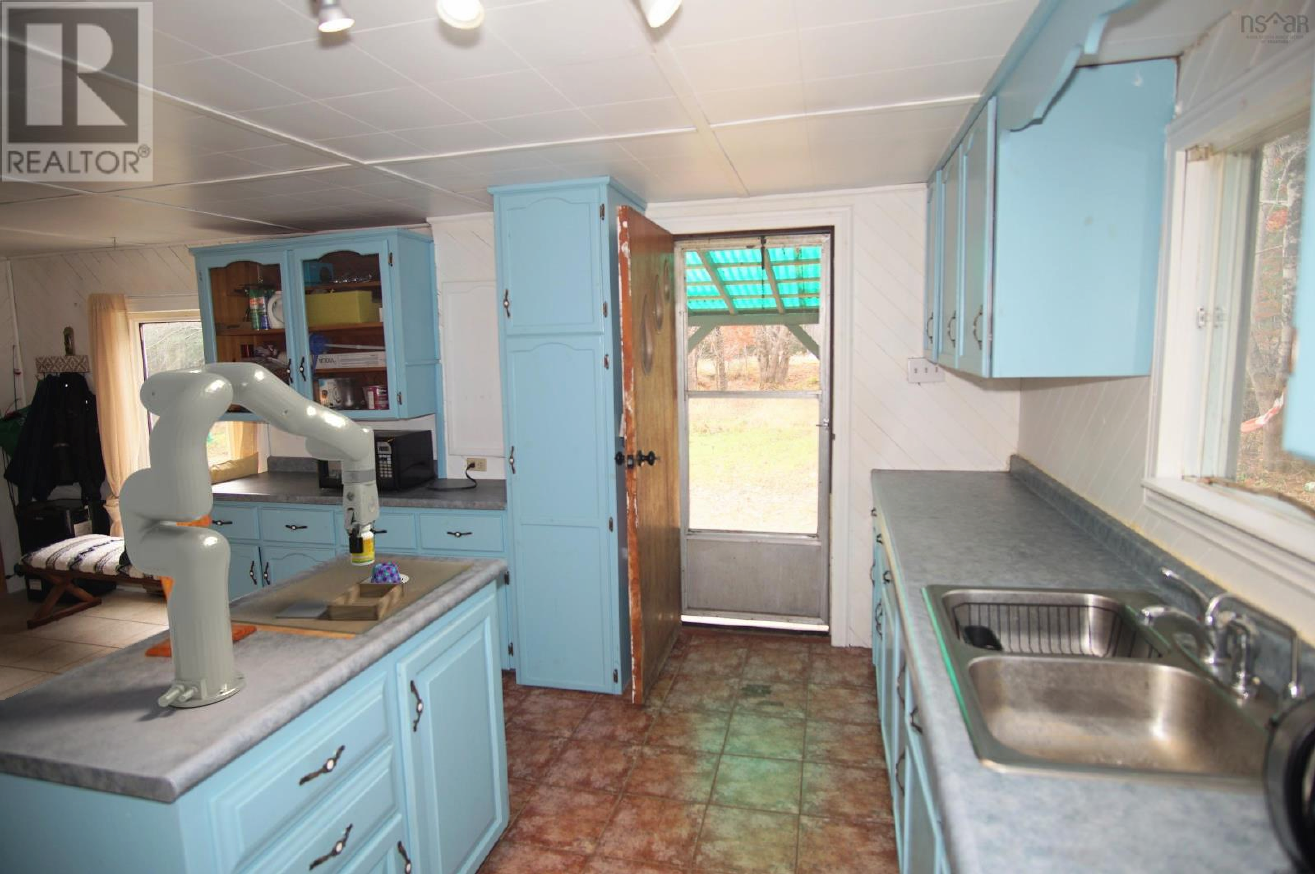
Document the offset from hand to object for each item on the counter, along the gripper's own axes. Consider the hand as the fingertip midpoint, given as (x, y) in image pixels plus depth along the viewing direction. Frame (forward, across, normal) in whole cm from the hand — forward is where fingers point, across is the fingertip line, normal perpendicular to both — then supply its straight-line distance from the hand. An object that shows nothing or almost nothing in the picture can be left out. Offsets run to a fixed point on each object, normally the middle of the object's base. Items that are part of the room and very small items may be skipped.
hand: (362, 548), depth 169 cm
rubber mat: (+15, -1, +14) cm, 21 cm away
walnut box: (+15, +1, 0) cm, 15 cm away
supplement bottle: (+4, 0, 0) cm, 4 cm away
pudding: (+15, +19, +3) cm, 25 cm away
